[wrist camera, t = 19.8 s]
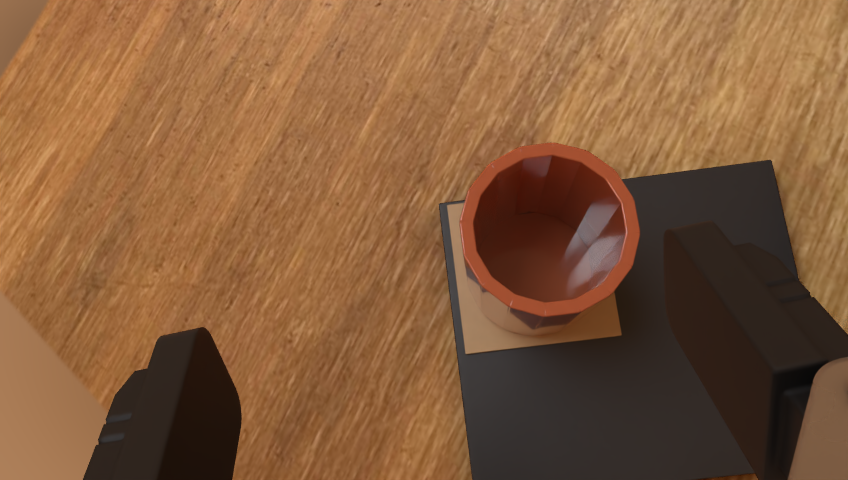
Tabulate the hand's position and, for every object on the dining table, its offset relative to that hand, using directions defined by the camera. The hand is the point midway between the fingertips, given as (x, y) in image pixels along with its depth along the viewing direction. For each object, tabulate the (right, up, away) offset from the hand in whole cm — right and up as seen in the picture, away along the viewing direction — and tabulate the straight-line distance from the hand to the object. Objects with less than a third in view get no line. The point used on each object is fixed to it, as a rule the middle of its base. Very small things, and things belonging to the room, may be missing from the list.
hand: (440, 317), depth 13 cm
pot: (+5, 0, +22) cm, 22 cm away
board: (+9, -3, +22) cm, 24 cm away
